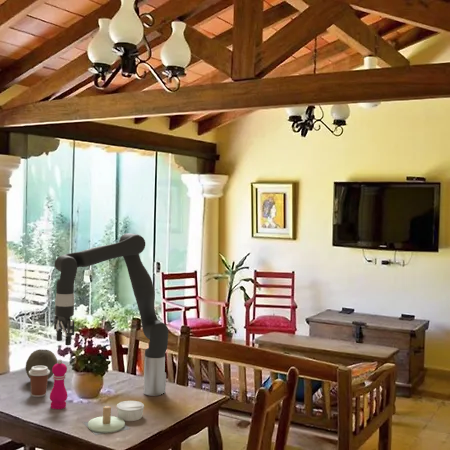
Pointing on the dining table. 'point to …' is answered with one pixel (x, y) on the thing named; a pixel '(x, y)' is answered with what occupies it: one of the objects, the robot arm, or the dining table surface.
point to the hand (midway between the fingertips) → (63, 342)
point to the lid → (106, 422)
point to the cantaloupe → (41, 360)
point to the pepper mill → (58, 386)
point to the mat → (105, 433)
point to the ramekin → (130, 410)
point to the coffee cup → (39, 380)
